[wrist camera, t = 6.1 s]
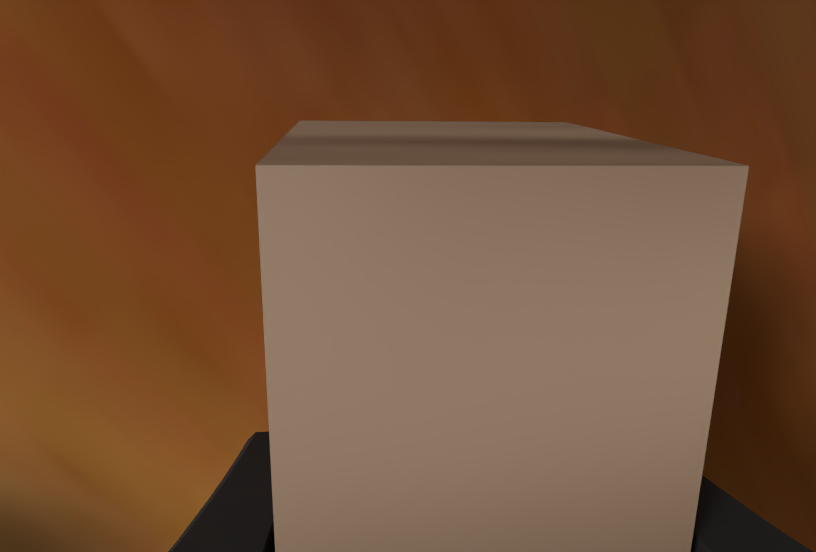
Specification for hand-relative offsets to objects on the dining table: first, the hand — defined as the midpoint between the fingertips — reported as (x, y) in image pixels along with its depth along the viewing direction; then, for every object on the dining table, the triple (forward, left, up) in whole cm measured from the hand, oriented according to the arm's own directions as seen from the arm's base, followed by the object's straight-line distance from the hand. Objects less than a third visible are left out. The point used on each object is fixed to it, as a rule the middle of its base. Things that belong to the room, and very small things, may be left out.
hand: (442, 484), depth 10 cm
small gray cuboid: (0, 0, -2) cm, 2 cm away
